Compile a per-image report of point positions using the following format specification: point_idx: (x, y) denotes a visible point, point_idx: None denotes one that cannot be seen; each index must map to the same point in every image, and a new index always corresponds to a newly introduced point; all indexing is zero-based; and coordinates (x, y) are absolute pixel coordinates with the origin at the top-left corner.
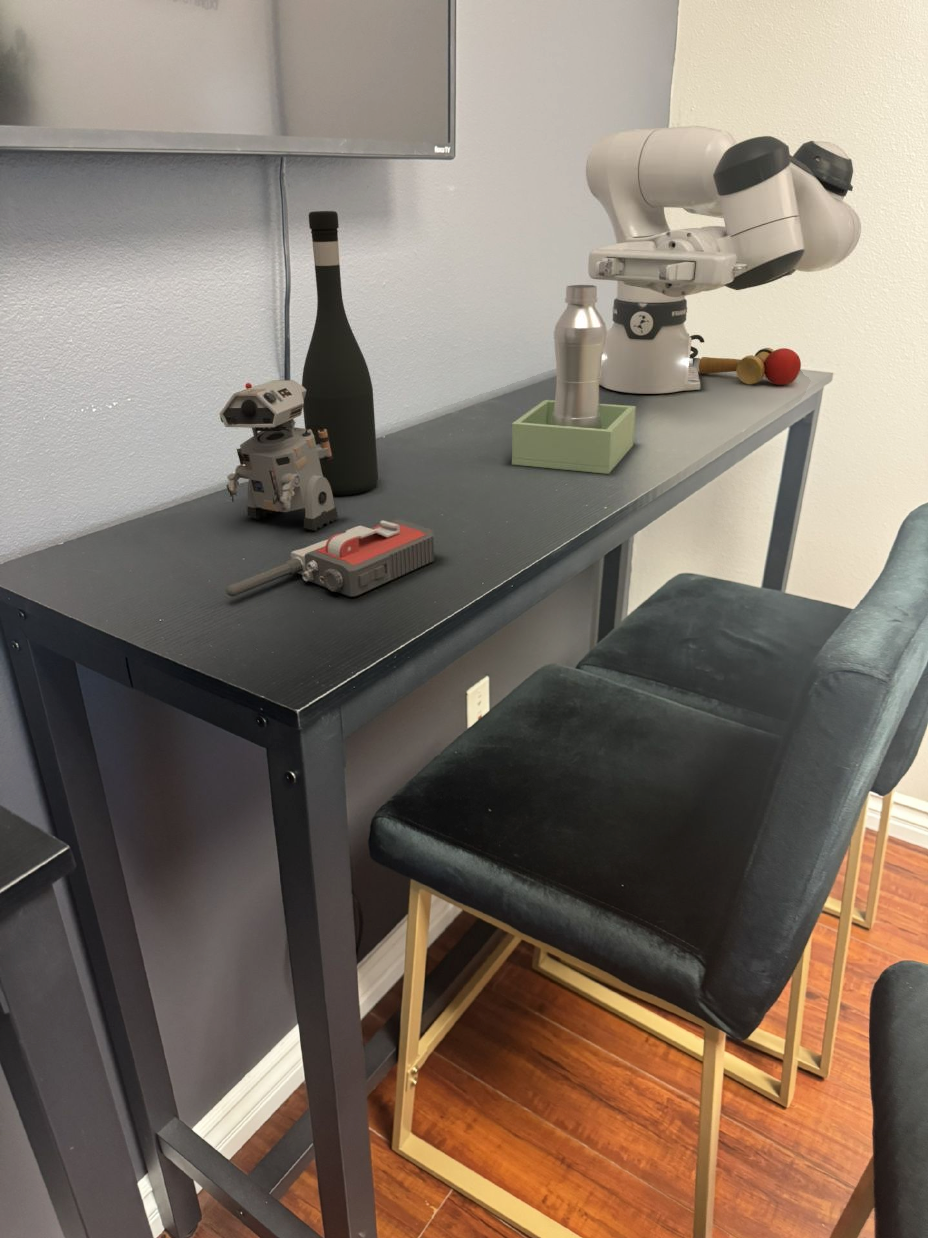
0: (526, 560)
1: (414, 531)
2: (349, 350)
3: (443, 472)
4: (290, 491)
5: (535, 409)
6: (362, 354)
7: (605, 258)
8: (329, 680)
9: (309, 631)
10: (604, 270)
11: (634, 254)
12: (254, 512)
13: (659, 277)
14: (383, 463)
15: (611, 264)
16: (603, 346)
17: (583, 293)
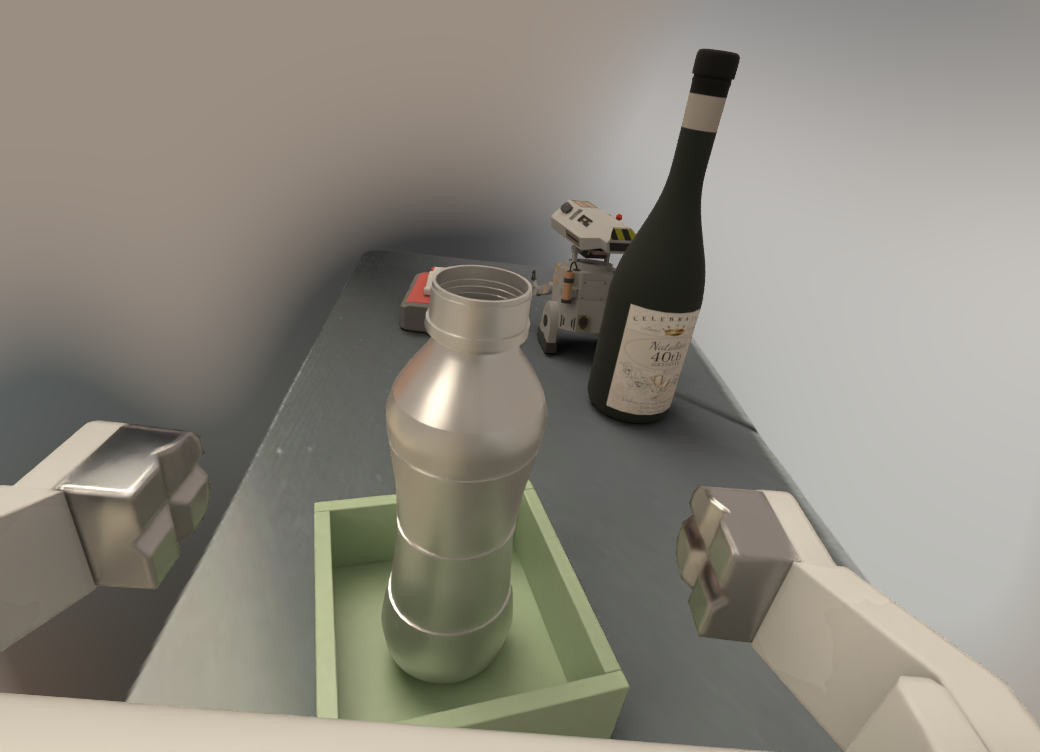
0: (323, 344)
1: (416, 300)
2: (636, 235)
3: (581, 476)
4: (543, 289)
5: (568, 580)
6: (647, 256)
7: (970, 679)
8: (367, 258)
9: (412, 275)
10: (689, 521)
11: (693, 747)
12: None
13: (205, 494)
14: (685, 474)
15: (720, 563)
16: (389, 445)
17: (451, 281)
